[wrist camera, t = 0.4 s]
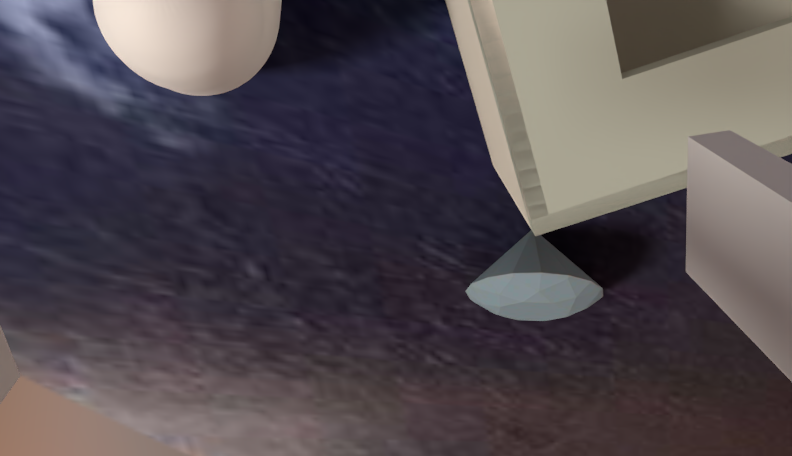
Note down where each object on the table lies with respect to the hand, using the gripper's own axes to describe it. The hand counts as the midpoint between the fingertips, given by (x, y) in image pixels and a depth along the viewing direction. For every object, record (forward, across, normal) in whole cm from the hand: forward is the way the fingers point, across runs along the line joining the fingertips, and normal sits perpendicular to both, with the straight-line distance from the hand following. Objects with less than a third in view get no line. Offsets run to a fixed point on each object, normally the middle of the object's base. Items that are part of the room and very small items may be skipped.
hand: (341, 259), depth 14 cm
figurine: (+27, -6, +3) cm, 28 cm away
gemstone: (+27, +8, -15) cm, 32 cm away
